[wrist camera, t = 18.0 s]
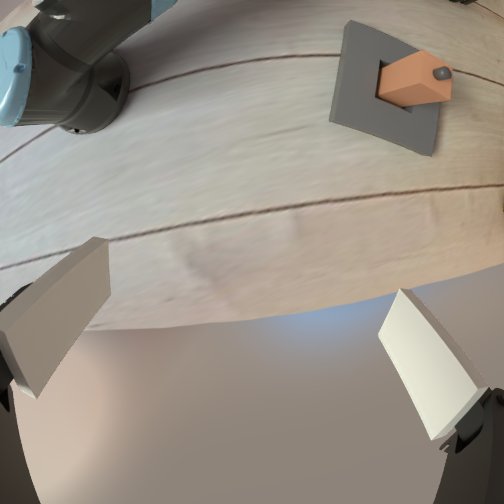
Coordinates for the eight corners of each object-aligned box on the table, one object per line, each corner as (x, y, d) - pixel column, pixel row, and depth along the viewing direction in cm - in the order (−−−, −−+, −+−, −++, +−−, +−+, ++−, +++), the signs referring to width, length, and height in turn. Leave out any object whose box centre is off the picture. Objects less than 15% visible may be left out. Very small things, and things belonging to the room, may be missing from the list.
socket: (328, 121, 37) (334, 119, 34) (344, 26, 30) (350, 19, 27) (422, 155, 38) (431, 156, 35) (433, 67, 31) (443, 64, 29)
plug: (373, 96, 35) (429, 80, 20) (376, 70, 33) (431, 45, 18) (398, 107, 35) (460, 99, 20) (402, 82, 33) (461, 65, 19)
